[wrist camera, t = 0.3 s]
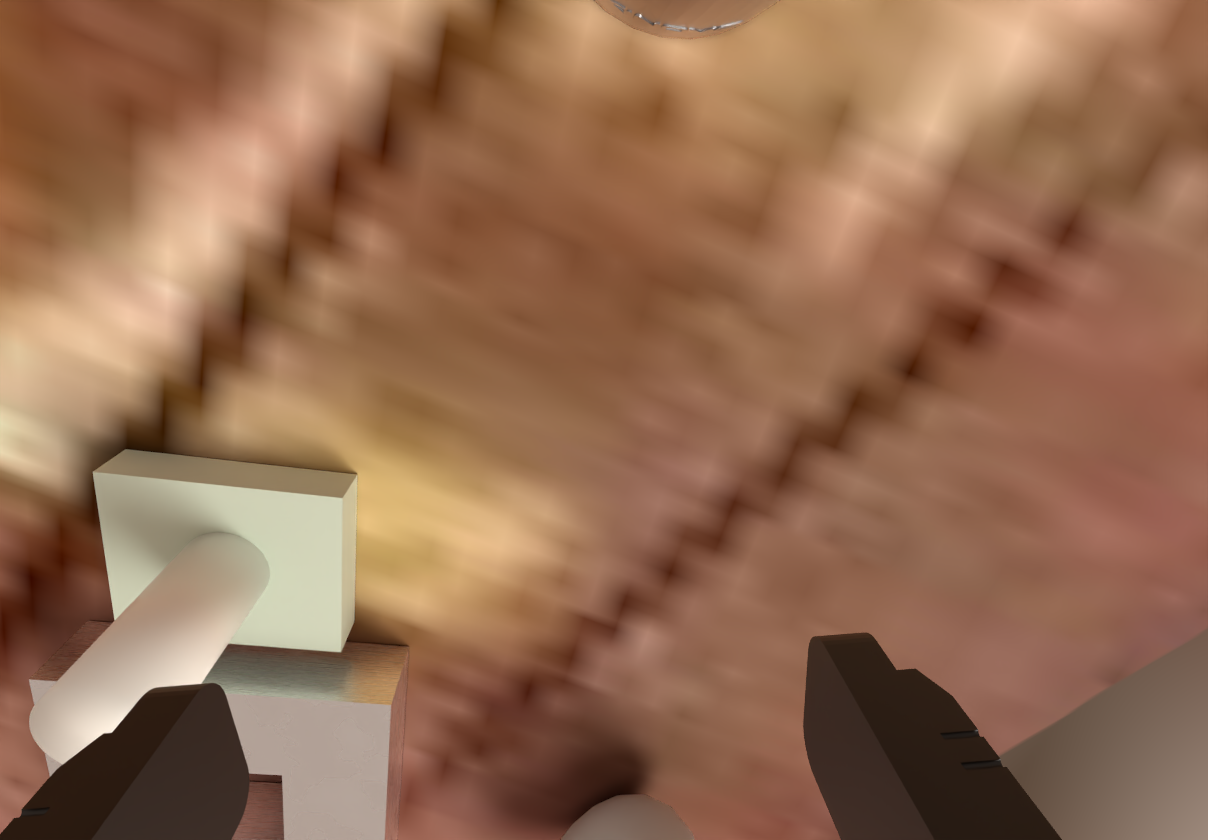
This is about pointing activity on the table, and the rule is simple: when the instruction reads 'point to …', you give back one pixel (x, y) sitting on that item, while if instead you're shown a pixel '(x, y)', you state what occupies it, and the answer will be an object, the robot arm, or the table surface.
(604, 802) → the donut
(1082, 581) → the table surface
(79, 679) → the peg
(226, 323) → the table surface
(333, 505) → the square base plate
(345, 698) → the flange
